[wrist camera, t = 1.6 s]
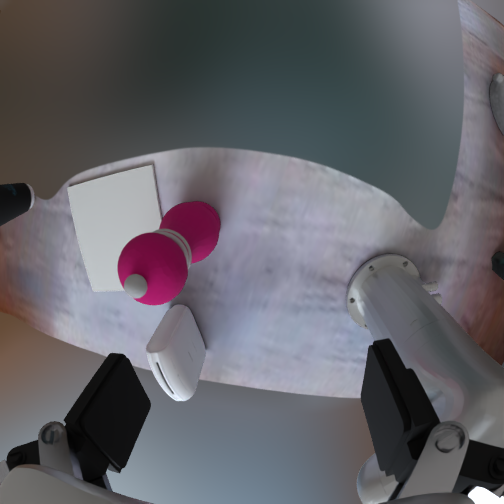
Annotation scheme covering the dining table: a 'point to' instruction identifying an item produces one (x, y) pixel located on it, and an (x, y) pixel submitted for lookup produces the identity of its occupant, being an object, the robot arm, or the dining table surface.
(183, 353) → the photo printer
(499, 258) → the ceramic cat
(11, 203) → the dixie cup
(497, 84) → the dish
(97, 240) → the mat
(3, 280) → the dining table surface
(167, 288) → the pepper mill
